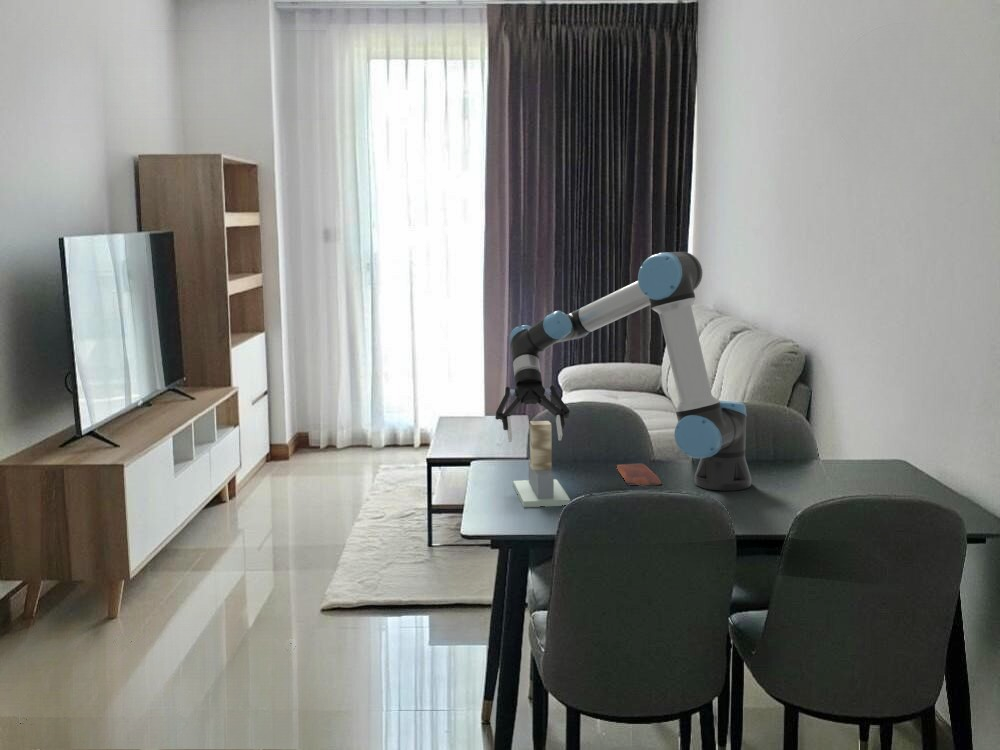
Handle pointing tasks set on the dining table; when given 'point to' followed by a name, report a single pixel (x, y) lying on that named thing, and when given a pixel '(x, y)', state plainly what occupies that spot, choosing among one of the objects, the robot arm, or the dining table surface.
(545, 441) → the birch block
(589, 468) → the dining table surface
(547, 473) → the ridge stand
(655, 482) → the wooden tablet
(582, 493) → the dining table surface
